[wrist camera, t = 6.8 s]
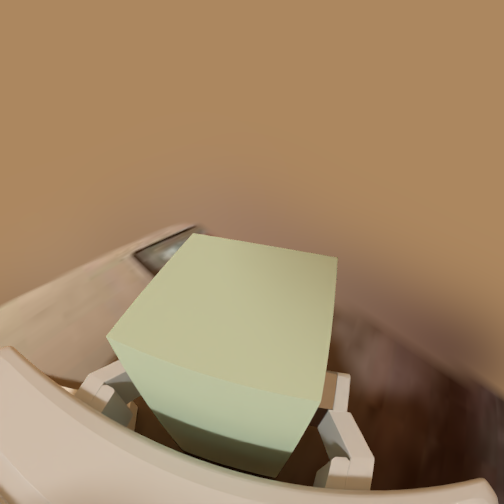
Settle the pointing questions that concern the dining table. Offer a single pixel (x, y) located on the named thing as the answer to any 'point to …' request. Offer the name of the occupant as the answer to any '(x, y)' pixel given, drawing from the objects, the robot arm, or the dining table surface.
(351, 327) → the dining table surface
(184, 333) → the green block
